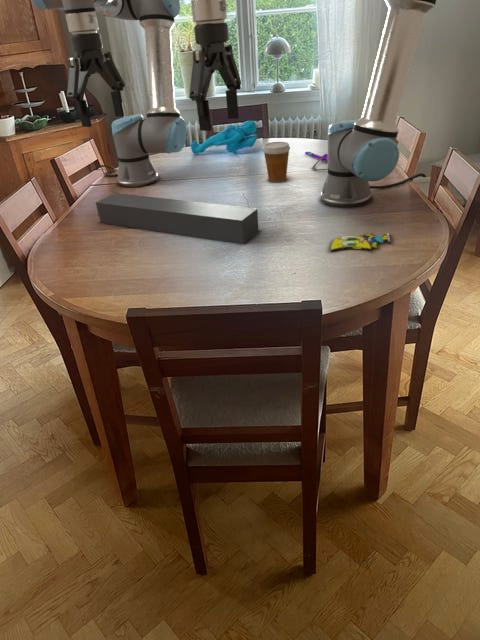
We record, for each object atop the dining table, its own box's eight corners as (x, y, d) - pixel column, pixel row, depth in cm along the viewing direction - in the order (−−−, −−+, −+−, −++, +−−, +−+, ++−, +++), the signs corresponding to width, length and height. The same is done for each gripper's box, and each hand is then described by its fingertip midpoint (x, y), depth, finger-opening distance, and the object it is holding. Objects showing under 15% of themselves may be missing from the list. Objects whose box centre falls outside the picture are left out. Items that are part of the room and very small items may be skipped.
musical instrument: (342, 175, 173) (362, 153, 185) (341, 169, 172) (361, 148, 184) (283, 174, 186) (305, 153, 198) (282, 169, 184) (305, 148, 196)
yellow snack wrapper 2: (393, 247, 116) (330, 248, 119) (393, 250, 117) (330, 251, 119) (388, 230, 125) (329, 232, 127) (387, 233, 125) (329, 235, 127)
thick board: (100, 222, 149) (95, 202, 146) (119, 212, 156) (115, 192, 152) (243, 244, 127) (241, 220, 124) (258, 231, 134) (257, 208, 130)
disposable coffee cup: (260, 182, 170) (258, 147, 164) (269, 174, 177) (267, 141, 171) (286, 183, 167) (285, 148, 160) (294, 175, 174) (293, 141, 168)
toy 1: (195, 134, 218) (257, 114, 208) (203, 157, 223) (264, 139, 213) (184, 143, 204) (250, 123, 194) (193, 168, 209) (257, 149, 199)
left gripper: (59, 36, 112) (82, 131, 123) (127, 28, 130) (142, 112, 141) (36, 38, 115) (61, 130, 126) (106, 30, 133) (122, 112, 144)
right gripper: (194, 25, 95) (206, 136, 107) (251, 18, 113) (256, 114, 125) (163, 27, 99) (179, 135, 110) (223, 20, 117) (231, 113, 128)
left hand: (104, 121), depth 134 cm, fingers open, 13 cm apart
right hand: (220, 124), depth 118 cm, fingers open, 13 cm apart
